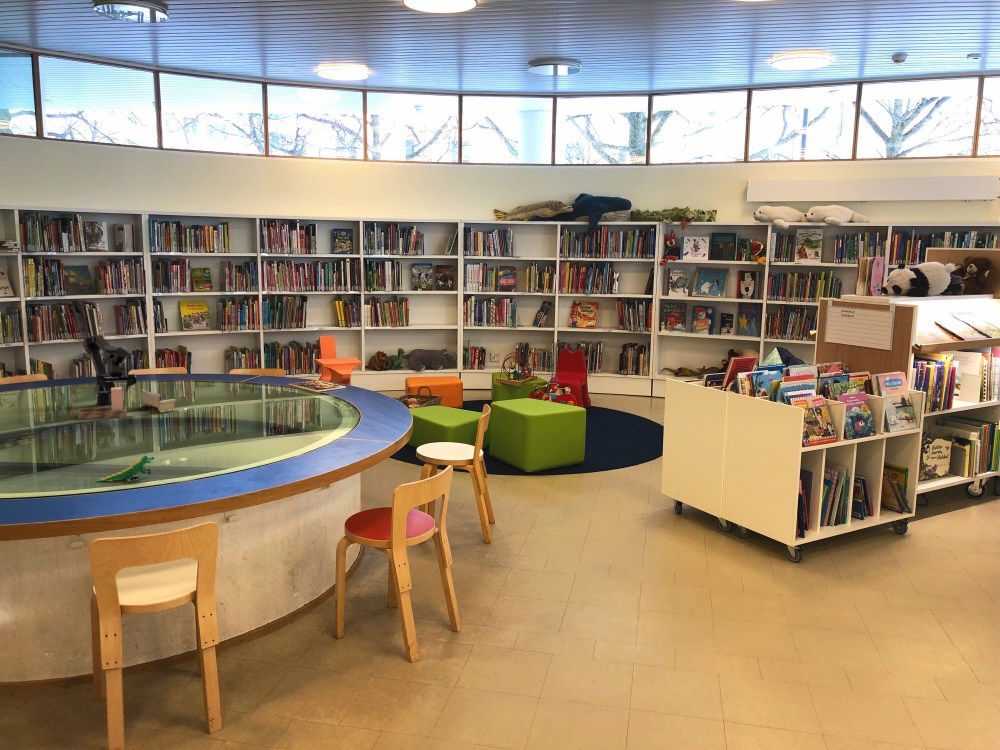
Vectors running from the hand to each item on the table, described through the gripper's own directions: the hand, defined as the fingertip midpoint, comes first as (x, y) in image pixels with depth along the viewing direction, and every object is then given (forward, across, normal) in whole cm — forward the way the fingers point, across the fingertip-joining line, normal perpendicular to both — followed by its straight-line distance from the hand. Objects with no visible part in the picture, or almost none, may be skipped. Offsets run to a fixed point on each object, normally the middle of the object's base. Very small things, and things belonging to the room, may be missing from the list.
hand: (116, 392), depth 412 cm
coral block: (+9, 0, +3) cm, 10 cm away
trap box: (+11, -7, +5) cm, 14 cm away
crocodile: (+96, +5, -81) cm, 125 cm away
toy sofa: (+3, +20, +14) cm, 24 cm away
